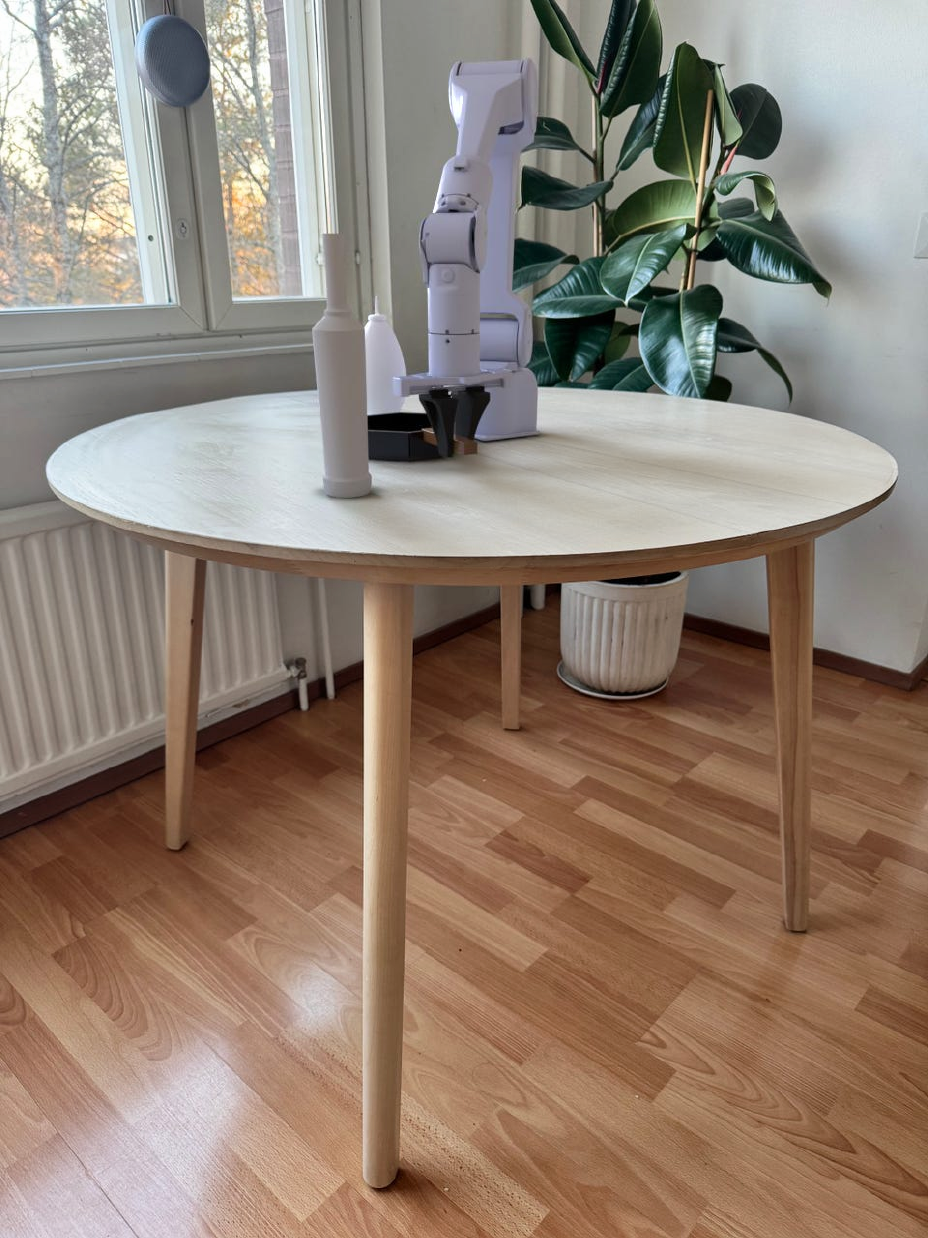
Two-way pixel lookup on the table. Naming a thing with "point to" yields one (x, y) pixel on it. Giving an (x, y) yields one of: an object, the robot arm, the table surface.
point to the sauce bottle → (382, 365)
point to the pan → (408, 438)
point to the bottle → (341, 383)
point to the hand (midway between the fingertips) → (454, 454)
